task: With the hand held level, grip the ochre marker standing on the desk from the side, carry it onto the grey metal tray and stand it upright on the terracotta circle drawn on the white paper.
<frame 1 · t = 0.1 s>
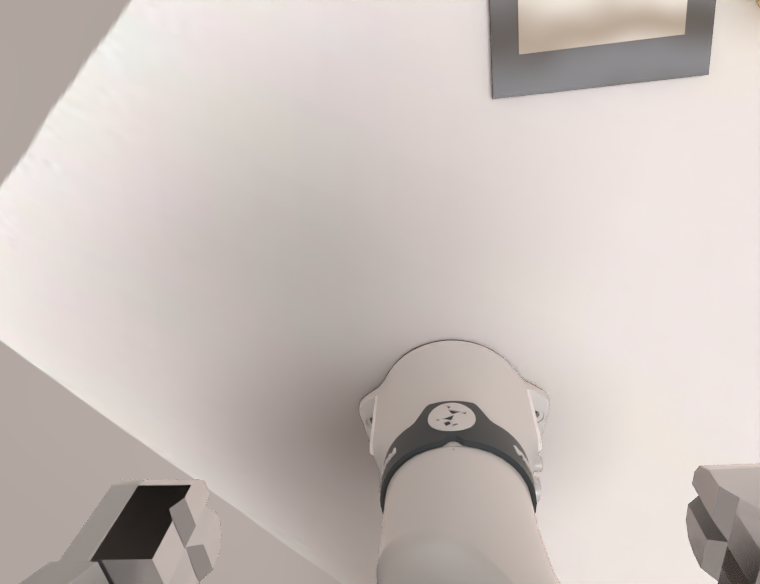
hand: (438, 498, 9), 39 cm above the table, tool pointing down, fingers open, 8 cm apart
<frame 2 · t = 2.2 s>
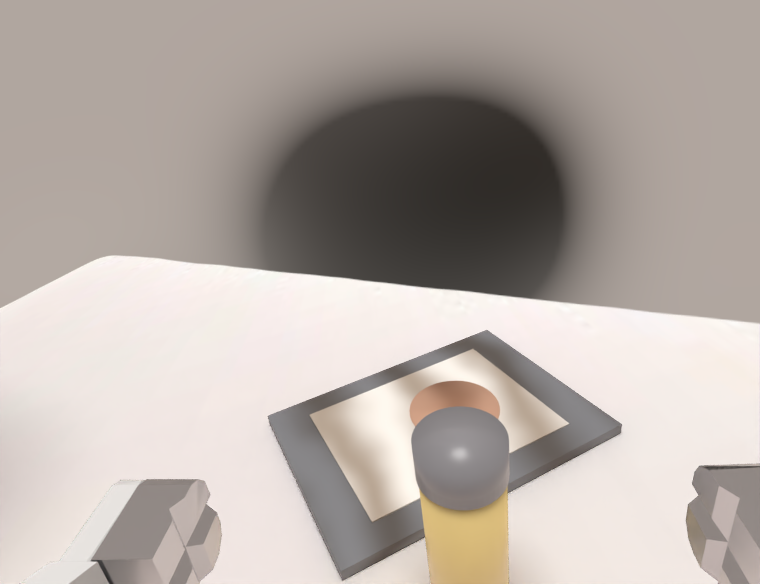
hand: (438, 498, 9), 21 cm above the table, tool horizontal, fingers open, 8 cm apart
grey metal tray: (433, 427, 41), on the table
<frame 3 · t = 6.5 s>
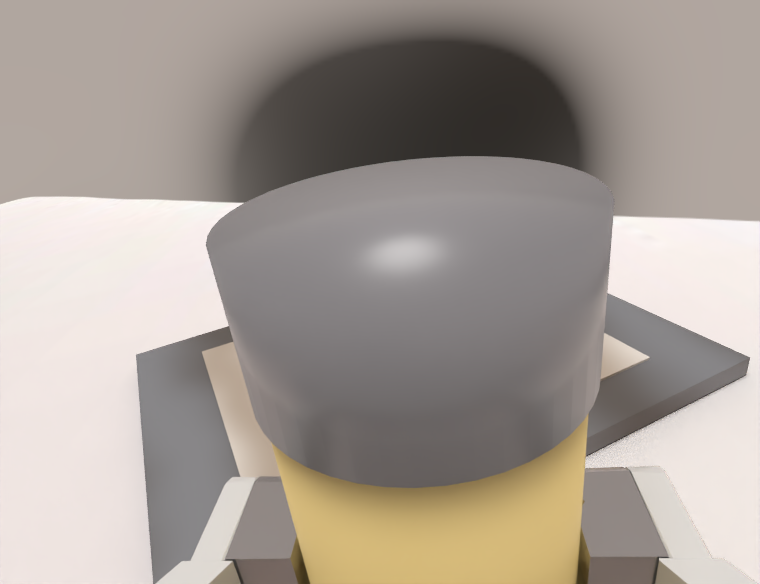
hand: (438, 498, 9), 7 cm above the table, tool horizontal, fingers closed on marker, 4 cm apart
grey metal tray: (405, 370, 24), on the table
when the fingers open (8 cm above the table, at t = 12.2 s): marker stays where it is, resting on grey metal tray.
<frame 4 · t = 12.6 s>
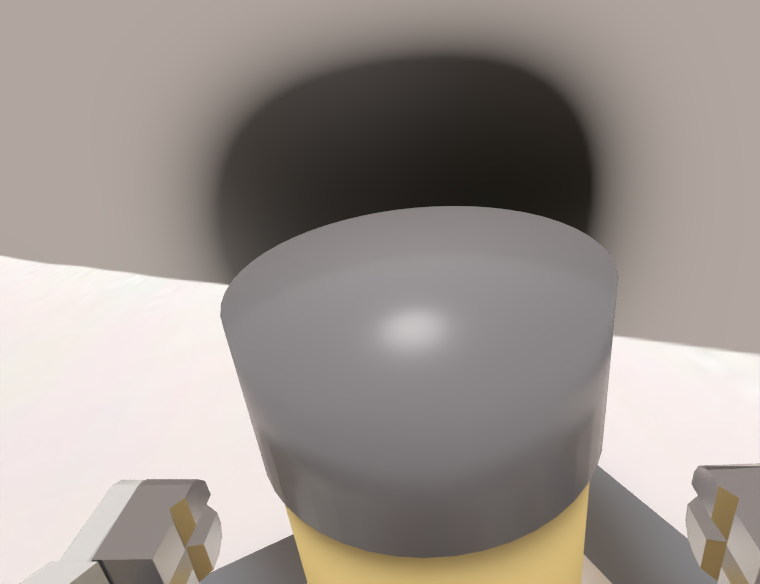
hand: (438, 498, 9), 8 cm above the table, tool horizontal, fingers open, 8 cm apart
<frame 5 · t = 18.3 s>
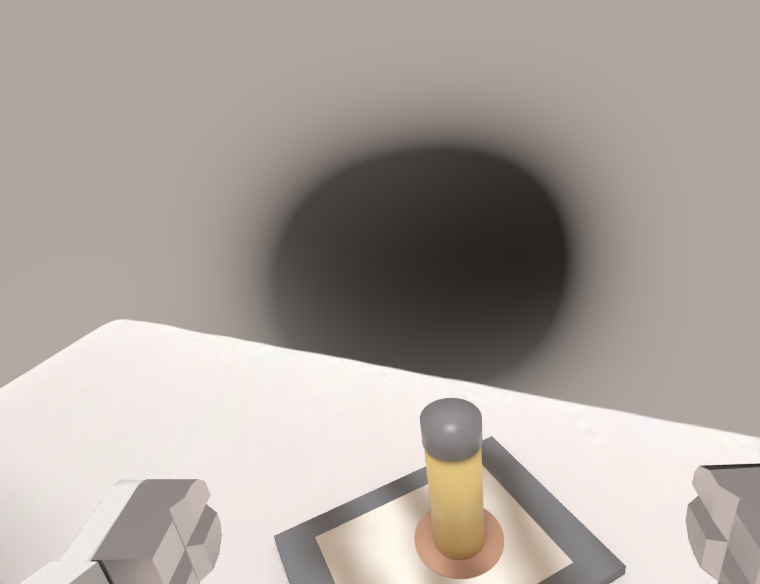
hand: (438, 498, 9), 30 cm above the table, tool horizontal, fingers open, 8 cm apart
grey metal tray: (437, 556, 41), on the table
marker: (458, 537, 41), point 1 cm above the table, touching grey metal tray
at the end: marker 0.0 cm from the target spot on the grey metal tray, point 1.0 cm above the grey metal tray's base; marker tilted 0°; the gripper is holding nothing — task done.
